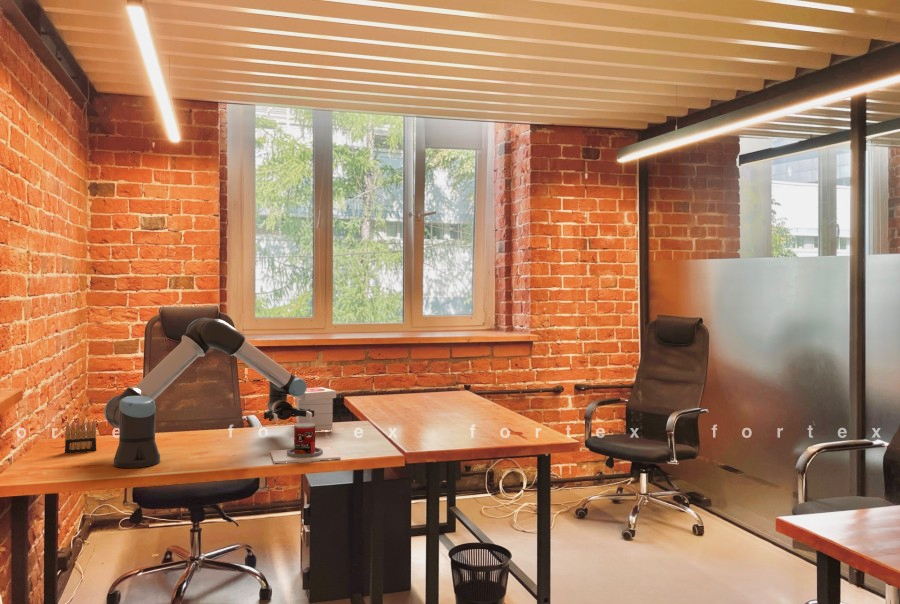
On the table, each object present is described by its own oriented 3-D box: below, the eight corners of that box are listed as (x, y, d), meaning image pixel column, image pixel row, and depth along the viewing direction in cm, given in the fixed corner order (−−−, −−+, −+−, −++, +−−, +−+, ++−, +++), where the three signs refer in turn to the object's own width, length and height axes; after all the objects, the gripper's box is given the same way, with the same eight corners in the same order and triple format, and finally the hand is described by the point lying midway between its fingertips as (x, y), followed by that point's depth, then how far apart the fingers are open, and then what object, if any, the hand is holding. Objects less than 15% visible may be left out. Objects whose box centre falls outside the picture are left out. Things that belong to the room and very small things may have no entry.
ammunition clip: (96, 450, 265) (96, 419, 265) (96, 451, 264) (96, 420, 264) (64, 452, 261) (65, 421, 260) (64, 453, 259) (64, 422, 259)
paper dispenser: (330, 421, 334) (331, 384, 334) (337, 432, 305) (337, 392, 305) (290, 422, 329) (290, 385, 329) (293, 434, 300) (293, 393, 300)
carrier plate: (274, 464, 246) (274, 458, 246) (270, 453, 263) (270, 447, 263) (340, 459, 254) (340, 453, 254) (332, 449, 271) (332, 443, 271)
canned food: (290, 455, 255) (290, 426, 255) (300, 450, 263) (300, 422, 263) (309, 456, 254) (309, 427, 254) (318, 452, 261) (318, 423, 261)
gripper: (311, 417, 294) (324, 425, 275) (251, 420, 283) (261, 429, 264) (312, 399, 294) (325, 406, 275) (252, 402, 283) (261, 409, 264)
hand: (293, 417), depth 269 cm, fingers open, 13 cm apart
